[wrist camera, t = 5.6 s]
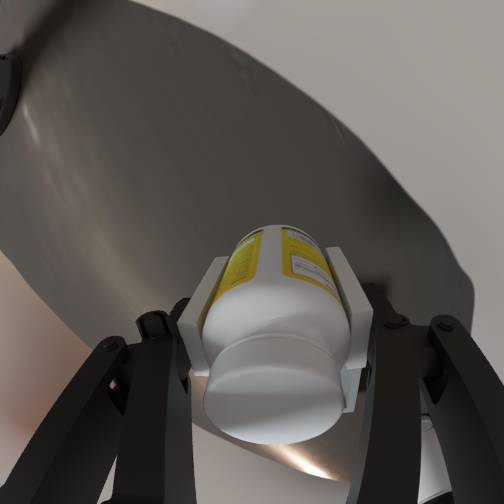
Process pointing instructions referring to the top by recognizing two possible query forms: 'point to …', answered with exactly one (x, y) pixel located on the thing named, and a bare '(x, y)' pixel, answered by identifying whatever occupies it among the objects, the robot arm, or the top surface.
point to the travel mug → (433, 469)
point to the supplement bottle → (276, 341)
